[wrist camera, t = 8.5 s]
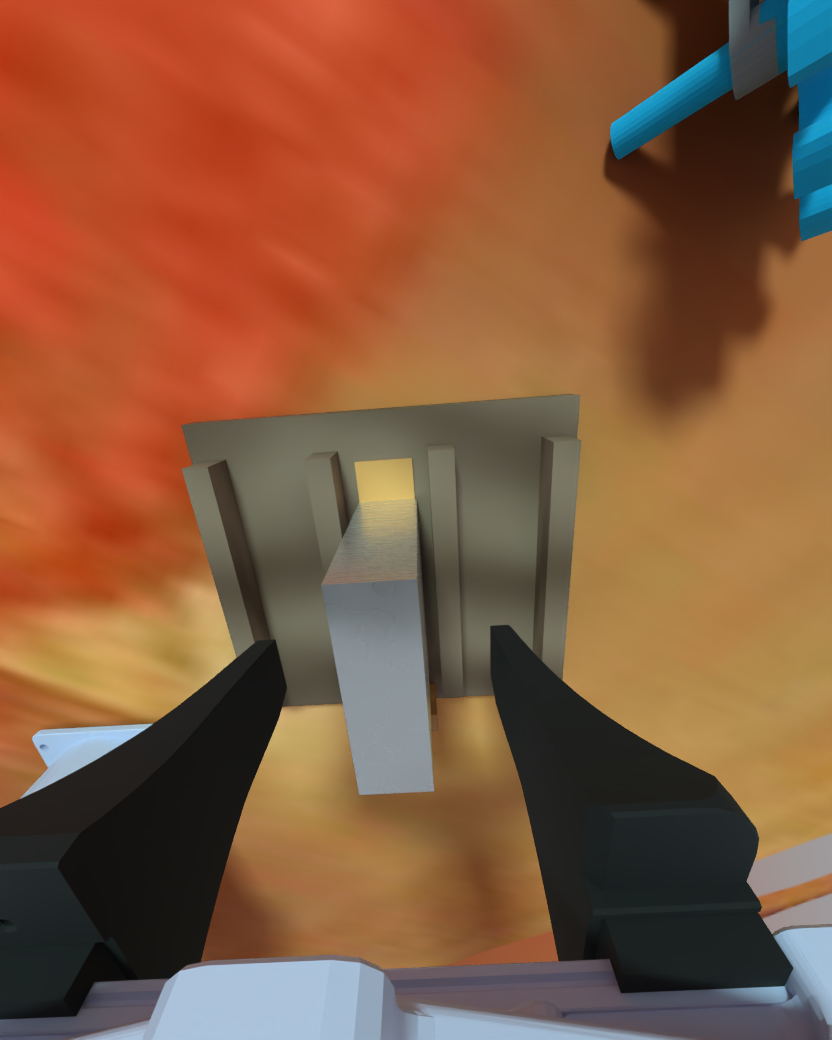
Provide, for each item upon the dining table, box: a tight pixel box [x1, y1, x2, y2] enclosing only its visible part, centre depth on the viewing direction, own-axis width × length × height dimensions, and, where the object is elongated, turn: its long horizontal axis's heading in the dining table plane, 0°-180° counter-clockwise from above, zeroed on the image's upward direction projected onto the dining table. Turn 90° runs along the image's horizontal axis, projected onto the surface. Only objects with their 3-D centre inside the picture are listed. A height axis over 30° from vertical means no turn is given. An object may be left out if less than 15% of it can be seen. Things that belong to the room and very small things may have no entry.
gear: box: [610, 0, 832, 241], centre depth 11 cm, size 11×6×10 cm
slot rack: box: [182, 394, 581, 731], centre depth 17 cm, size 15×16×3 cm
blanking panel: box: [321, 498, 434, 795], centre depth 15 cm, size 8×2×7 cm, turn 4°
